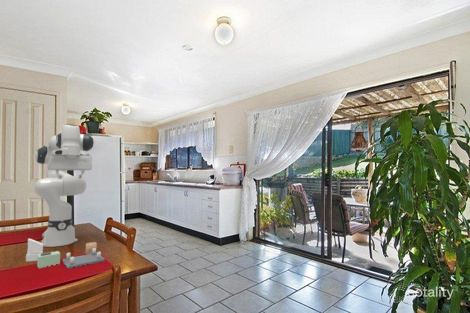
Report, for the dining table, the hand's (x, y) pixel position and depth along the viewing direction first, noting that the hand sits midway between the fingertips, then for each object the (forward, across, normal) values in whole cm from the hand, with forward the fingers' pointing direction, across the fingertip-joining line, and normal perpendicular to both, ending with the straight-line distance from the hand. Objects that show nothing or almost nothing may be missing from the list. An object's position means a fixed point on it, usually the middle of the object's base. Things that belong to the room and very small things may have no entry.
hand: (70, 178), depth 139 cm
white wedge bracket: (+39, +14, -2) cm, 42 cm away
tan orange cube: (+40, -9, +5) cm, 41 cm away
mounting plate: (+41, -3, +16) cm, 44 cm away
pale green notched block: (+40, +10, +11) cm, 43 cm away
